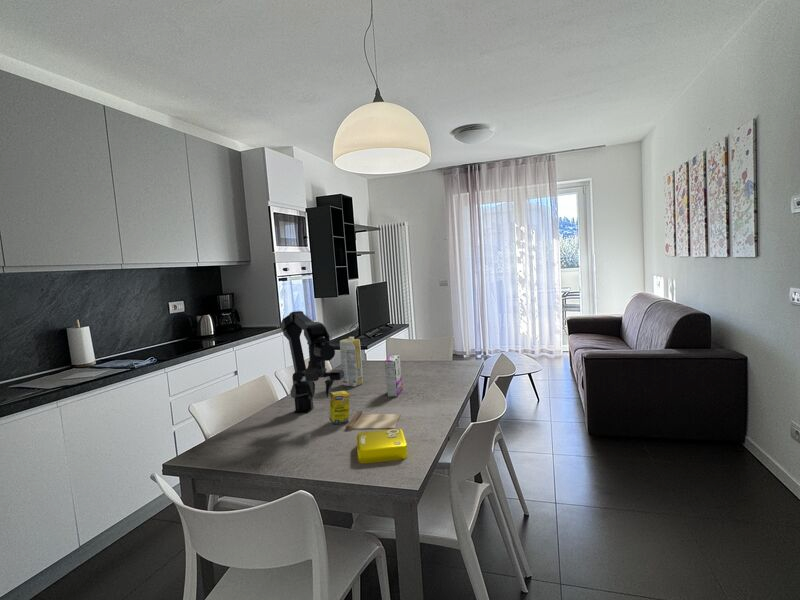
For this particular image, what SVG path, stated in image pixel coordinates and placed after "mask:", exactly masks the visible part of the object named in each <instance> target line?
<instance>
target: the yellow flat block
mask: <svg viewBox="0 0 800 600" xmlns="http://www.w3.org/2000/svg"><path fill="white" fill-rule="evenodd" d="M356 449H357V450H356V451H357V461H358V463H360V464H372V463H380V462H381V463H382V462H391V461H398V460H399V461H401V460H405V459H407V458H408V443H407V440H406V438H405V434H404V430H402V429H401V428H395V429H379V430H373V431H372V430H371V431H364V432H363V431H362V432H359V433H357V435H356Z"/></svg>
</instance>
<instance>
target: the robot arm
mask: <svg viewBox="0 0 800 600" xmlns="http://www.w3.org/2000/svg"><path fill="white" fill-rule="evenodd" d="M280 329H281V331H282V335H283V336H284V337H285V338H286V339H287V340H288V344H289V350H290V354H291V359H292V364H293V369H294V372H293V374H292V377H291V378H292V387H291V389H290V391H289V392H290V397H291V398H293V399H294V408H295V409H294V411H293V413H295V414H296V413H299V414H300V413H302V414H304V413H310V412H311V411H312V410H313V409H314V407H315V406H314V400H313V398H314V397H315V392H316V383H315V382H317V381H319V379H320V378H326V380H325V381H324V383H325V397H326V399H327V398H329V397H330V392H331V389H332V386H333V383H334V382H335V381H340V380H343V377H344V371H343V370H342V369H332V370H331V371H329V372H327V371H328V369H327V368H326V362H328V361H331V360H332V359H334V357H335V354H336V350H335V348H334V346H333V345H331V344H330V342H331V339H330V338H331V336H330V334H329V332H328V330H327V328H326V326H325V325H324V323H322V322H319V321H313V320H312V319H311V318H310V317H309V316H307V315H305V313H304V311H302V310H298V311H295V310H294V311H291V312H290V313H289V315H287V316H285V317H284V318H282V320H281V322H280ZM302 332H303V336H304V338H305V339H306V341H307V342H306V344H307V345H308V356H309V360H308V363H307V364H308V365H307V367H306V361H305V356H304V352H303V348H302V343H301V342H302V341H301V335H302Z"/></svg>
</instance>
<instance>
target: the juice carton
mask: <svg viewBox="0 0 800 600" xmlns="http://www.w3.org/2000/svg"><path fill="white" fill-rule="evenodd" d="M339 349H340V350H339V351H340V362H341V363H340V364H341V370H343V371H344V377H343V378H342V384H343V386H349V387H357V386H360V385H362V384H363V377H364V376H363V366H362V365H363V363H362V352H361V351H362V350H361V341H360V338H355V336H349V337H348V338H345V339H341V340H339Z"/></svg>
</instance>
